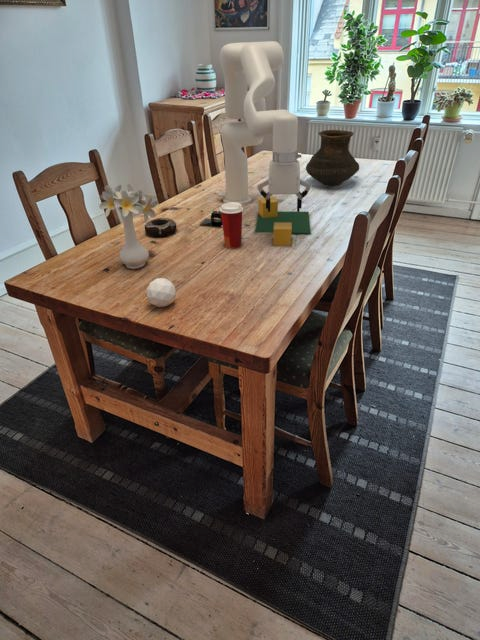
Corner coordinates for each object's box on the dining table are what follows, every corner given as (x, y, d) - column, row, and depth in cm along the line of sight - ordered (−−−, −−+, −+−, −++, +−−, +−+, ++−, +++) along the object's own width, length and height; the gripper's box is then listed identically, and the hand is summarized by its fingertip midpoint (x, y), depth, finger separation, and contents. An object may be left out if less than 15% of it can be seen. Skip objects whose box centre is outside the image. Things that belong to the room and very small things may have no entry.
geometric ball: (157, 315, 121) (135, 297, 117) (169, 293, 125) (148, 275, 121) (174, 310, 116) (152, 291, 112) (186, 287, 120) (165, 268, 116)
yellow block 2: (273, 245, 151) (273, 228, 148) (273, 238, 156) (274, 222, 153) (291, 245, 151) (291, 229, 147) (290, 238, 156) (291, 222, 152)
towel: (254, 234, 160) (254, 232, 160) (258, 212, 178) (258, 211, 178) (310, 234, 158) (310, 232, 158) (308, 213, 177) (308, 211, 176)
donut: (139, 236, 162) (137, 226, 159) (155, 225, 171) (153, 215, 168) (167, 240, 158) (166, 229, 156) (182, 228, 167) (181, 217, 165)
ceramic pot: (366, 181, 209) (373, 131, 197) (340, 194, 194) (345, 140, 182) (322, 173, 223) (326, 125, 211) (294, 185, 208) (296, 134, 196)
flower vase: (155, 276, 135) (143, 195, 121) (102, 270, 139) (84, 191, 125) (172, 258, 145) (163, 182, 131) (122, 253, 149) (107, 179, 136)
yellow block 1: (262, 218, 171) (262, 203, 168) (258, 213, 176) (258, 198, 173) (277, 216, 173) (277, 201, 169) (272, 211, 177) (272, 196, 174)
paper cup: (247, 241, 154) (246, 202, 147) (239, 250, 148) (238, 210, 141) (226, 239, 157) (224, 200, 149) (218, 248, 151) (215, 208, 143)
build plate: (235, 221, 171) (235, 210, 169) (230, 228, 165) (229, 216, 163) (205, 219, 174) (204, 207, 172) (199, 226, 168) (198, 214, 166)
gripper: (312, 154, 140) (309, 206, 149) (257, 154, 142) (258, 207, 151) (313, 159, 134) (310, 214, 143) (256, 160, 135) (257, 214, 145)
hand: (283, 210), depth 147 cm, fingers open, 9 cm apart
